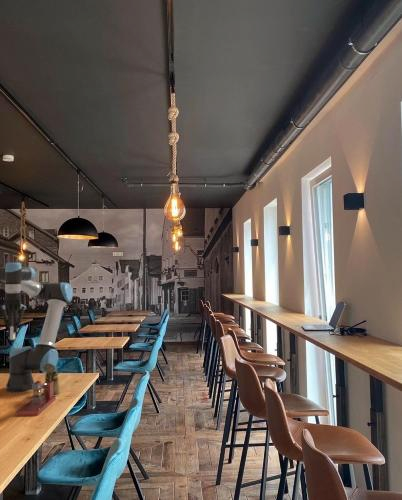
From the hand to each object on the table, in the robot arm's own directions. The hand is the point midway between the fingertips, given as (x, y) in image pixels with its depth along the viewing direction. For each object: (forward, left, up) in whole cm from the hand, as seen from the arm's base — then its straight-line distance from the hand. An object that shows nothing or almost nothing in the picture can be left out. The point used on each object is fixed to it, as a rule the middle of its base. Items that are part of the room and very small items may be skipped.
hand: (12, 339), depth 218 cm
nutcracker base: (+6, +15, -32) cm, 36 cm away
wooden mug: (-16, +14, -33) cm, 39 cm away
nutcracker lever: (+8, +15, -23) cm, 29 cm away
